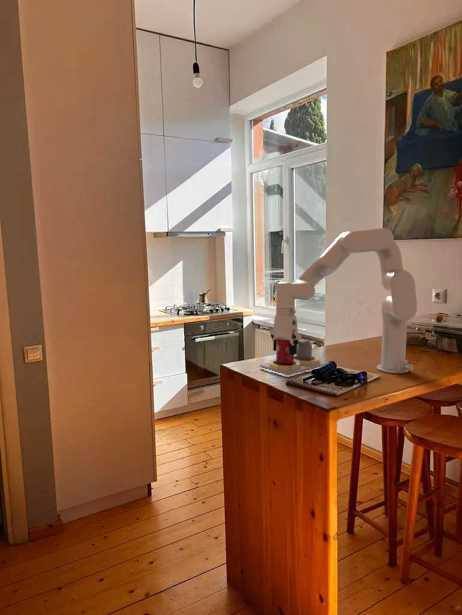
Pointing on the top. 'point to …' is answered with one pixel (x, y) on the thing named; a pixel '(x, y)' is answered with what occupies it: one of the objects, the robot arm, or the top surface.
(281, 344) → the soda can
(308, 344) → the seated plug
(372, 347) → the top surface
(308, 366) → the octagonal socket board
